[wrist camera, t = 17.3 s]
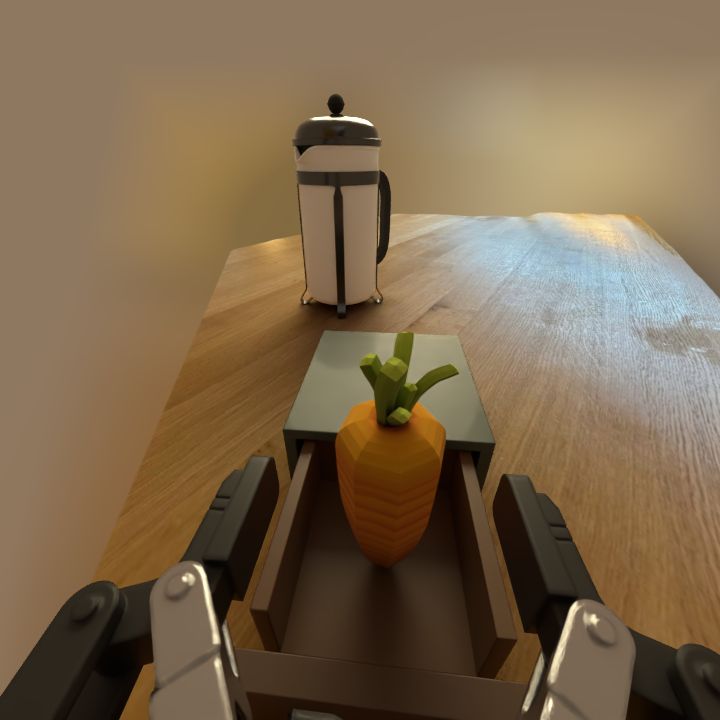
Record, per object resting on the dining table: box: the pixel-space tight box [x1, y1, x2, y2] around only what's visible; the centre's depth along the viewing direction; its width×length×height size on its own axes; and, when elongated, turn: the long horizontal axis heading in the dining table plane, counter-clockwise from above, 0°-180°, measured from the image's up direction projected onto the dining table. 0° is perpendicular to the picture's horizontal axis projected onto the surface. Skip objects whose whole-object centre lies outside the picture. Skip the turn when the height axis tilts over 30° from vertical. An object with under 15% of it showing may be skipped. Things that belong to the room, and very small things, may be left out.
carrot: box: [335, 332, 460, 568], centre depth 16 cm, size 5×5×15 cm
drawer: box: [234, 439, 528, 720], centre depth 17 cm, size 18×12×6 cm
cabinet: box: [283, 330, 496, 492], centre depth 29 cm, size 15×14×8 cm
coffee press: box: [292, 94, 391, 318], centre depth 54 cm, size 17×16×30 cm
